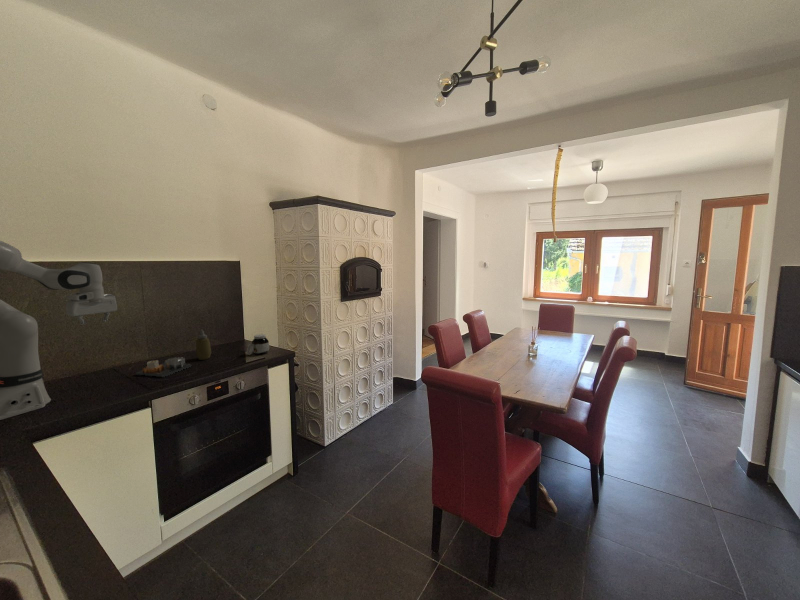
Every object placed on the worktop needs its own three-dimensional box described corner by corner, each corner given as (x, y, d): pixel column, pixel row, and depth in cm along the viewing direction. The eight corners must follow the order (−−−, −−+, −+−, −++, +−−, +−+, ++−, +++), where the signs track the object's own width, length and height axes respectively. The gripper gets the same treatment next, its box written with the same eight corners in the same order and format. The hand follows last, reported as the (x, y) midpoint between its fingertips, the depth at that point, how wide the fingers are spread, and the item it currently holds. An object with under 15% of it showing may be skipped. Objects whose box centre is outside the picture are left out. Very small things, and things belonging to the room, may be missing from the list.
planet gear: (152, 373, 166) (151, 364, 165) (138, 372, 168) (137, 363, 167) (168, 367, 174) (167, 359, 174) (154, 366, 176) (154, 358, 176)
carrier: (163, 377, 164) (162, 365, 163) (136, 375, 168) (135, 362, 167) (191, 366, 181) (190, 355, 180) (166, 364, 184) (165, 353, 183)
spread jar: (271, 352, 209) (270, 334, 207) (257, 357, 198) (256, 338, 197) (257, 350, 213) (256, 333, 212) (243, 355, 203) (242, 336, 202)
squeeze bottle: (193, 359, 195) (191, 329, 193) (208, 355, 201) (205, 327, 199) (200, 361, 190) (197, 331, 188) (214, 358, 197) (212, 329, 195)
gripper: (110, 293, 171) (112, 319, 173) (62, 296, 151) (65, 325, 153) (119, 293, 170) (121, 319, 171) (72, 297, 150) (75, 326, 151)
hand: (94, 322), depth 162 cm, fingers open, 8 cm apart
